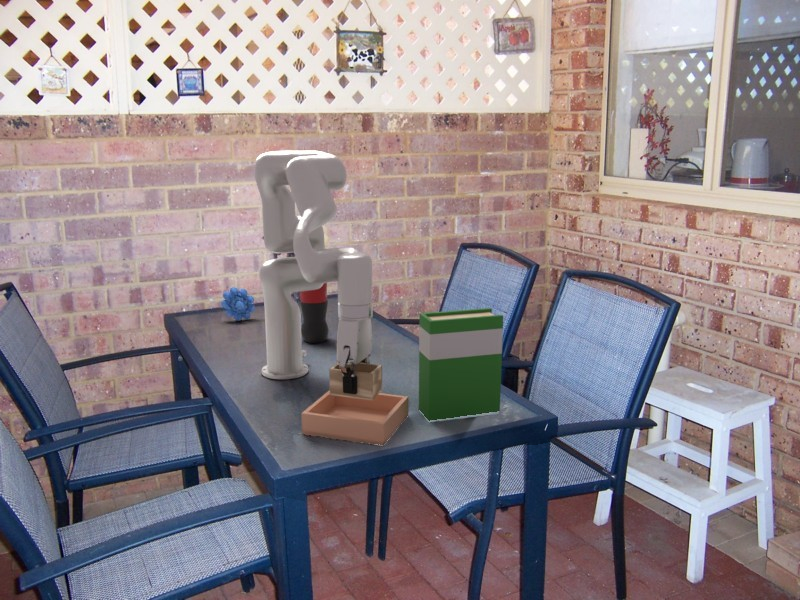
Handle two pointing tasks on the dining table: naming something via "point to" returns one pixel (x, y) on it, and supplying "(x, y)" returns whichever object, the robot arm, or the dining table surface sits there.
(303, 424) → the terracotta crate
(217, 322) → the dining table surface
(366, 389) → the pine crate
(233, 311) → the blue flower
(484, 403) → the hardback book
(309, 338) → the cola bottle
